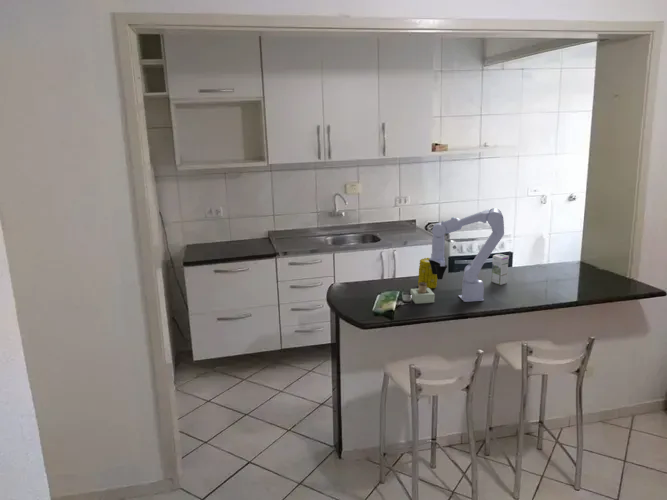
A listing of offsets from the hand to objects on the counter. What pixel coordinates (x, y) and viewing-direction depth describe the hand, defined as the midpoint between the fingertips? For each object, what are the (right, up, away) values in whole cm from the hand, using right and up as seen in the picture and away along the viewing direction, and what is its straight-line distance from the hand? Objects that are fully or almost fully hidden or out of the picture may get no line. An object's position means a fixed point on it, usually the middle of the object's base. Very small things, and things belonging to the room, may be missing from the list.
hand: (437, 276), depth 250 cm
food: (-2, -6, +16) cm, 17 cm away
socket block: (-7, -11, -1) cm, 13 cm away
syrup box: (+35, -4, +19) cm, 40 cm away
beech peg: (-7, -11, -1) cm, 13 cm away
